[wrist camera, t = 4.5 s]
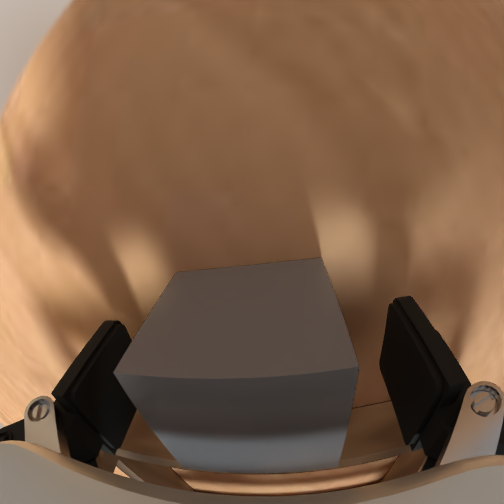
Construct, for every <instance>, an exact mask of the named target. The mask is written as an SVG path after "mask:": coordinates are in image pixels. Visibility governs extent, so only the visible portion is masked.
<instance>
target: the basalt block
mask: <svg viewBox="0 0 504 504" xmlns="http://www.w3.org/2000/svg"><path fill="white" fill-rule="evenodd" d="M358 371H359V364H358V361H357V358H356V355H355V351H354V348H353V345H352V342H351V339H350V336H349V333H348V330H347V327H346V324H345V321H344V318H343V315H342V312H341V309H340V306H339V304H338V301H337V298H336V295H335V292H334V290H333V287H332V284H331V281H330V279H329V276H328V273H327V271H326V268H325V265H324V263H323V260H322V257H321V258H312V259H303V260H294V261H284V262H275V263H265V264H256V265H246V266H236V267H226V268H216V269H206V270H195V271H185V272H176V273H175V275H174V276H173V278H172V279H171V281H170V282H169V284H168V285H167V287H166V288H165V290H164V292H163V293H162V295H161V296H160V298H159V299H158V301H157V302H156V304H155V305H154V307H153V309H152V310H151V312H150V313H149V315H148V316H147V318H146V320H145V321H144V323H143V324H142V326H141V327H140V329H139V331H138V332H137V334H136V336H135V337H134V339H133V340H132V342H131V344H130V345H129V347H128V349H127V350H126V352H125V354H124V355H123V357H122V359H121V360H120V362H119V364H118V365H117V367H116V369H115V371H114V372H113V373H114V374H115V376H116V378H117V379H118V381H119V383H120V384H121V386H122V387H123V389H124V390H125V392H126V394H127V395H128V397H129V398H130V400H131V401H132V403H133V404H134V406H135V407H136V408H137V410H138V411H139V413H140V414H141V416H142V417H143V418H144V420H145V421H146V422H147V424H148V425H149V426H150V428H151V429H152V430H153V432H154V433H155V434H156V436H157V437H158V438H159V439H160V441H161V442H162V443H163V444H164V446H165V447H166V448H167V449H168V451H169V452H170V453H171V454H172V455H173V456H174V458H175V459H176V460H177V461H178V462H179V463H180V464H181V466H182V467H183V468H188V469H196V470H206V471H217V472H234V473H280V472H297V471H309V470H318V469H326V468H333V467H338V464H339V461H340V457H341V453H342V450H343V446H344V442H345V438H346V433H347V429H348V425H349V420H350V415H351V410H352V405H353V400H354V395H355V389H356V383H357V377H358Z"/></svg>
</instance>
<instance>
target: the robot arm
mask: <svg viewBox="0 0 504 504" xmlns="http://www.w3.org/2000/svg"><path fill="white" fill-rule="evenodd" d="M131 342H132V340H131V338H130V336H129V334H128V332H127V329H126V327H125V326H124V325H122V323H121V322H120V321H110V320H107V321H104V322H103V323H102V325H101V326H100V327H99V328H98V330H97V331H96V332H95V334H94V335H93V336H92V338H91V339H90V340H89V341H88V343H87V344H86V345H85V347H84V348H83V349H82V351H81V352H80V353H79V355H78V356H77V357H76V359H75V360H74V362H73V363H72V364H71V366H70V367H69V369H68V370H67V371H66V373H65V374H64V376H63V377H62V378H61V380H60V381H59V383H58V384H57V386H56V387H55V388H54V390H53V391H52V393H51V394H52V395H53V396H54V397H55V399H56V400H55V402H53V400H52V399H51V398H50V397H48V396H40V397H37V398H35V399H33V400H32V401H31V402H30V403H29V404H28V406H27V408H26V410H25V415H24V419H23V420H20V421H18V422H16V423H13V424H11V425H8V426H6V427H3V428H1V429H0V504H504V393H503V391H502V390H501V389H500V387H498V386H497V385H496V384H494V383H491V382H487V381H481V382H477V383H475V384H473V385H471V383H470V381H469V380H468V378H467V376H466V375H465V373H464V371H463V370H462V368H461V366H460V365H459V363H458V361H457V360H456V358H455V357H454V355H453V353H452V352H451V350H450V349H449V347H448V346H447V344H446V343H445V341H444V340H443V338H442V337H441V335H440V334H439V332H438V331H437V330H435V329H434V327H433V326H432V324H431V323H430V322H429V320H428V319H427V317H426V316H425V314H424V313H423V312H422V310H421V309H420V307H419V306H418V305H417V303H416V302H415V300H414V299H413V298H412V297H411V296H406V297H400V298H395V299H394V301H393V303H391V304H389V307H388V314H387V321H386V328H385V334H384V340H383V346H382V351H381V356H380V370H381V373H382V376H383V379H384V382H385V384H386V387H387V390H388V393H389V396H390V399H391V402H392V405H393V408H394V411H395V414H396V417H397V420H398V423H399V426H400V430H401V433H402V436H403V440H404V443H405V444H406V445H410V447H411V450H412V452H413V451H416V450H419V449H422V448H423V451H424V454H425V455H426V457H425V459H424V461H423V463H422V465H421V467H420V469H419V471H418V473H414V474H411V475H408V476H404V477H401V478H397V479H393V480H390V481H386V482H381V483H377V484H372V485H368V486H363V487H357V488H352V489H346V490H340V491H334V492H326V493H318V494H308V495H294V496H233V495H219V494H209V493H201V492H193V491H186V490H180V489H175V488H169V487H164V486H159V485H155V484H150V483H146V482H142V481H138V480H134V479H131V478H127V477H124V476H120V475H117V474H114V473H111V472H107V471H105V468H104V465H103V463H102V460H101V457H100V454H99V452H100V450H102V451H103V452H106V453H109V454H112V455H115V454H116V451H117V449H119V448H121V446H122V444H123V441H124V439H125V436H126V434H127V432H128V429H129V427H130V424H131V422H132V420H133V417H134V415H135V413H136V410H137V408H136V407H135V406H134V404H133V403H132V401H131V400H130V398H129V397H128V395H127V394H126V392H125V390H124V389H123V387H122V386H121V384H120V383H119V381H118V379H117V378H116V376H115V374H114V373H113V372H114V371H115V369H116V367H117V365H118V364H119V362H120V360H121V359H122V357H123V355H124V354H125V352H126V350H127V349H128V347H129V345H130V344H131Z"/></svg>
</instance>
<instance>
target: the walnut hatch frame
mask: <svg viewBox="0 0 504 504" xmlns="http://www.w3.org/2000/svg"><path fill="white" fill-rule="evenodd" d="M99 454H100V457H101V460H102V463H103V465H104V468H105V471H107V472H111V473H113V472H114V470H115V467H116V466H117V467H118V468H119V469H120V470H121V471H123V472H124V473H125V474H126V475H127V476H129V477H130V478H131V479H134V480H138V481H142V482H146V483H150V484H155V485H159V486H164V487H169V488H175V489H180V490H186V491H193V492H195V491H194V490H193V489H192V488H191V487H190V486H189V485H188V484H187V483H186V482H185V481H184V480H182V479H181V478H180V477H179V476H178V475H177V474H176V473H175V472H174V471H173V470H172V469H171V468H170V467H173V468H179V469H186V470H194V471H203V472H213V473H228V474H288V473H302V472H313V471H321V470H329V469H336V468H343V467H348V466H354V465H359V464H364V463H369V462H373V461H378V460H382V459H386V458H390V457H393V456H397V455H399V456H398V458H397V459H396V461H395V462H394V464H393V465H392V467H391V468H390V470H389V471H388V472H387V474H386V475H385V477H384V478H383V479H382V481H381V482H386V481H390V480H393V479H397V478H401V477H404V476H408V475H411V474H414V473H418V471H419V469H420V467H421V465H422V463H423V461H424V459H425V457H426V455H425V454H424V451H423V448H422V449H419V450H416V451H413V452H412V450H411V447H410V445H406V444H405V443H404V440H403V436H402V433H401V430H400V426H399V423H398V420H397V417H396V414H395V411H394V408H393V405H392V402H391V401H388V402H384V403H379V404H374V405H369V406H364V407H359V408H353V409H352V410H351V415H350V420H349V425H348V429H347V433H346V438H345V442H344V446H343V450H342V453H341V457H340V461H339V464H338V467H333V468H326V469H318V470H309V471H297V472H280V473H234V472H217V471H206V470H196V469H188V468H183V467H182V466H181V464H180V463H179V462H178V461H177V460H176V459H175V458H174V456H173V455H172V454H171V453H170V452H169V451H168V449H167V448H166V447H165V446H164V444H163V443H162V442H161V441H160V439H159V438H158V437H157V436H156V434H155V433H154V432H153V430H152V429H151V428H150V426H149V425H148V424H147V422H146V421H145V420H144V418H143V417H142V416H141V414H140V413H139V411H137V410H136V413H135V415H134V417H133V420H132V422H131V424H130V427H129V429H128V432H127V434H126V436H125V439H124V441H123V444H122V446H121V448H119V449H117V451H116V454H115V455H112V454H109V453H106V452H103V451H102V450H100V452H99ZM381 482H380V483H381Z"/></svg>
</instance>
